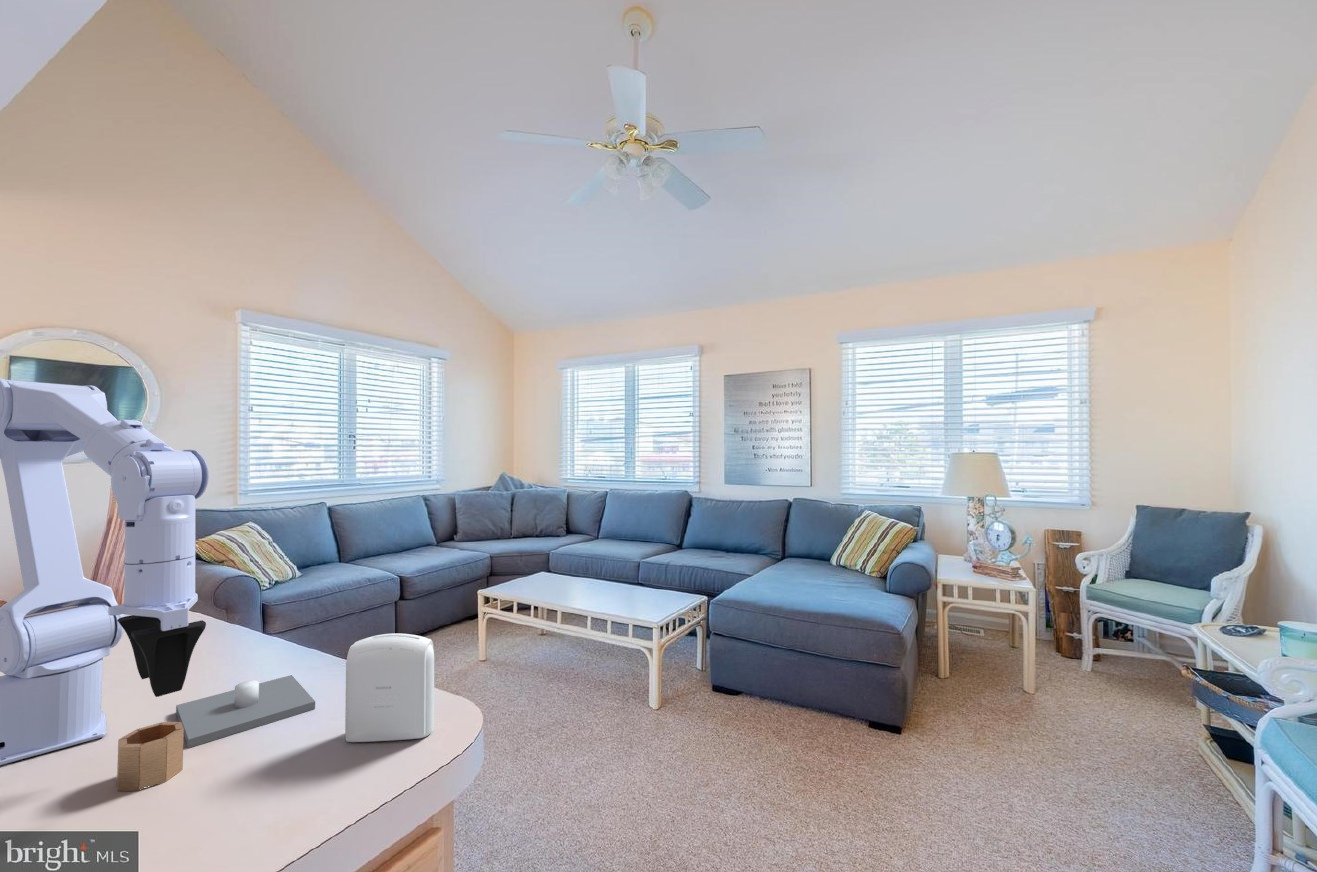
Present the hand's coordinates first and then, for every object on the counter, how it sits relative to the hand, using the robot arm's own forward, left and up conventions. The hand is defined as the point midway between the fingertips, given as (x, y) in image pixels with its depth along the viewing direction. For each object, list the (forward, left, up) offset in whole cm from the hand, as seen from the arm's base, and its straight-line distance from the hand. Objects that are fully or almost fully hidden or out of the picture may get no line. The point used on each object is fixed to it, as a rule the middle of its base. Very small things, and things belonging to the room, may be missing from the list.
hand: (160, 683), depth 58 cm
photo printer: (+20, -10, -10) cm, 25 cm away
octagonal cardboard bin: (-1, 0, -10) cm, 10 cm away
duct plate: (+9, +10, -10) cm, 17 cm away
